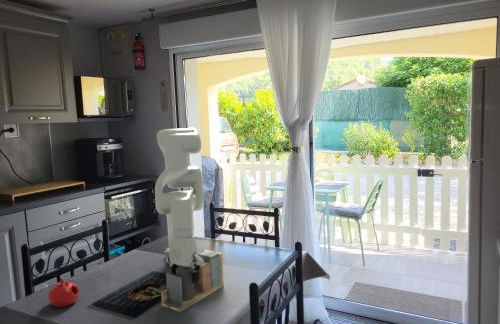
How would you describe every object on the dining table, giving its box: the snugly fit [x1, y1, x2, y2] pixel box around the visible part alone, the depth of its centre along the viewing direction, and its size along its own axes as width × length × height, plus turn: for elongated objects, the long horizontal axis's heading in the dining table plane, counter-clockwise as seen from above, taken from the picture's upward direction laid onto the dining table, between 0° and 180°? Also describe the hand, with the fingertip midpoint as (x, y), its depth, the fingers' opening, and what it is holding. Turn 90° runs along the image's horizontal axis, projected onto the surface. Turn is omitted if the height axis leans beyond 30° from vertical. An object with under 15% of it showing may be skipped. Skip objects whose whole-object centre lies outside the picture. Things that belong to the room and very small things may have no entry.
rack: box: [160, 248, 225, 313], centre depth 137 cm, size 9×23×13 cm, turn 146°
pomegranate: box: [47, 277, 80, 308], centre depth 135 cm, size 10×10×9 cm
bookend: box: [164, 272, 183, 308], centre depth 129 cm, size 6×2×10 cm, turn 56°
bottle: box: [176, 265, 194, 301], centre depth 134 cm, size 6×6×15 cm
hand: (185, 279), depth 134 cm, fingers open, 9 cm apart
